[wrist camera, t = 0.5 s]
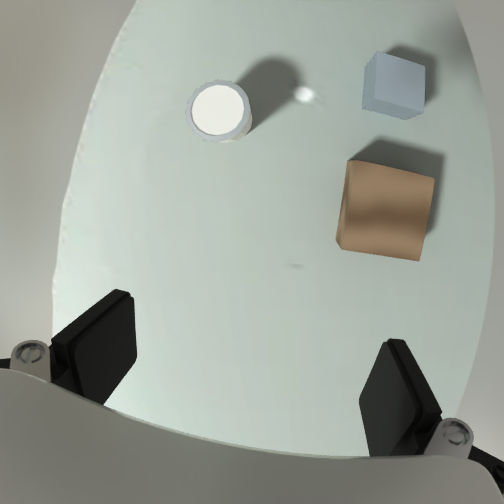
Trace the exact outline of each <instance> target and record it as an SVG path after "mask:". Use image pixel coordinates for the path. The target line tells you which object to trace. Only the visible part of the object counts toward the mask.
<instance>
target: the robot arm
mask: <svg viewBox="0 0 504 504" xmlns="http://www.w3.org/2000/svg"><path fill="white" fill-rule="evenodd" d="M51 342H52V344H51V345H50V346H49V347H48V346H47V345H46V344H45V343H43V342H42V341H38V340H28V341H24V342H22V343H20V344H18V345H17V346H16V347H15V348H14V349H13V351H12V354H11V358H9V359H0V504H504V462H503V461H501V460H499V459H497V458H496V457H494V456H492V455H490V454H488V453H486V452H484V451H482V450H480V449H478V448H476V447H475V446H473V445H472V443H473V439H474V436H473V431H472V430H471V429H470V427H469V426H468V425H467V424H466V423H465V422H463V421H461V420H459V419H456V418H446V419H444V420H442V418H441V413H442V410H441V408H440V406H439V404H438V402H437V400H436V398H435V396H434V394H433V392H432V390H431V388H430V386H429V384H428V383H427V381H426V379H425V377H424V375H423V373H422V371H421V369H420V367H419V366H418V364H417V362H416V360H415V358H414V356H413V355H412V353H411V351H410V349H409V348H408V346H407V344H406V342H405V341H404V340H401V339H391V338H390V339H388V341H387V342H383V344H382V346H381V348H380V351H379V353H378V356H377V358H376V361H375V363H374V366H373V368H372V370H371V373H370V375H369V377H368V379H367V382H366V384H365V386H364V388H363V390H362V393H361V395H360V398H359V406H360V410H361V415H362V420H363V424H364V429H365V434H366V439H367V444H368V449H369V454H370V457H365V456H327V455H312V454H300V453H290V452H282V451H274V450H267V449H260V448H254V447H248V446H242V445H237V444H231V443H226V442H222V441H217V440H212V439H208V438H204V437H200V436H196V435H192V434H188V433H184V432H180V431H177V430H173V429H170V428H166V427H163V426H160V425H157V424H153V423H150V422H147V421H144V420H141V419H138V418H135V417H133V416H130V415H127V414H124V413H122V412H119V411H116V410H114V409H111V408H109V407H106V406H104V403H105V402H106V401H107V399H108V398H109V396H110V395H111V394H112V392H113V391H114V390H115V388H116V387H117V386H118V384H119V383H120V382H121V380H122V379H123V378H124V376H125V375H126V374H127V372H128V371H129V370H130V368H131V367H132V366H133V364H134V363H135V361H136V358H137V346H136V331H135V309H134V298H133V297H131V295H130V293H129V292H126V291H122V290H118V289H114V290H113V291H112V292H110V293H109V294H108V295H106V296H105V297H104V298H102V299H101V300H100V301H98V302H97V303H96V304H95V305H93V306H92V307H91V308H89V309H88V310H87V311H86V312H84V313H83V314H82V315H80V316H79V317H78V318H77V319H75V320H74V321H73V322H72V323H70V324H69V325H68V326H67V327H65V328H64V329H63V330H62V331H60V332H59V333H58V334H57V335H55V336H54V337H53V338H52V339H51Z"/></svg>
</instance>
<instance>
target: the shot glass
mask: <svg viewBox="0 0 504 504" xmlns="http://www.w3.org/2000/svg"><path fill="white" fill-rule="evenodd" d="M185 114H186V120H187V124H188V126H189V127H190V129H191V130H192V132H193V133H194V134H195V135H197V136H198V137H200V138H201V139H203V140H206V141H213V142H232V141H237V140H239V139H241V138H242V137H244V136H245V135H246V134H247V133H248V131H249V130H250V128H251V125H252V120H253V119H252V114H251V109H250V104H249V99H248V96H247V95H246V94H245V92H244V91H243V89H242V88H241V87H240V86H238V85H236V84H234V83H232V82H231V81H224V80H215V81H211V82H207V83H205V84H203V85H202V86H200V87H199V88H197V89H196V90H195V91H194V92H193V94H192V95H191V97H190V98H189V100H188V102H187V107H186V111H185Z"/></svg>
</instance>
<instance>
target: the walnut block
mask: <svg viewBox="0 0 504 504" xmlns="http://www.w3.org/2000/svg"><path fill="white" fill-rule="evenodd" d="M434 181H435V178H432V177H428V176H425V175H421V174H417V173H413V172H409V171H405V170H400V169H396V168H392V167H387V166H383V165H378V164H373V163H368V162H364V161H358V160H351V161H347V168H346V175H345V183H344V190H343V197H342V203H341V210H340V216H339V222H338V228H337V234H336V241H337V243H338V244H339V246H340V248H341V249H342V250H348V251H355V252H362V253H369V254H375V255H382V256H388V257H395V258H401V259H408V260H414V261H419V260H420V256H421V252H422V247H423V243H424V238H425V233H426V229H427V224H428V218H429V213H430V207H431V201H432V195H433V189H434Z"/></svg>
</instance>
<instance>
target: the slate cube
mask: <svg viewBox="0 0 504 504" xmlns="http://www.w3.org/2000/svg"><path fill="white" fill-rule="evenodd" d="M424 101H425V66H423V65H420V64H417V63H414V62H411V61H408V60H405V59H402V58H399V57H396V56H392V55H389V54H385V53H382V52H378V51H377V52H376V53H375V54H374V56H373V57H372V58H371V60H370V61H369V62H368V64H367V65H366V66H365V75H364V89H363V101H362V109H365V110H369V111H373V112H377V113H381V114H385V115H389V116H393V117H396V118H400V119H404V120H407V119H409V118H412V117H414V116H417V115H420V114H422V113H424Z"/></svg>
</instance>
